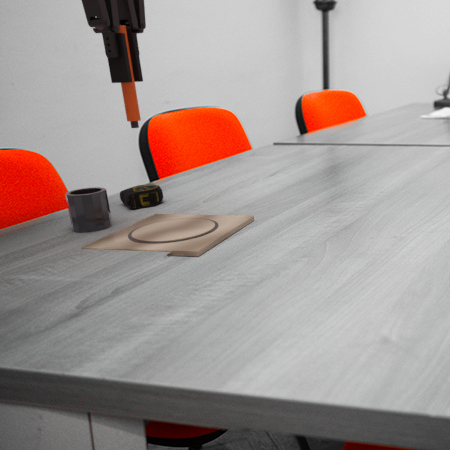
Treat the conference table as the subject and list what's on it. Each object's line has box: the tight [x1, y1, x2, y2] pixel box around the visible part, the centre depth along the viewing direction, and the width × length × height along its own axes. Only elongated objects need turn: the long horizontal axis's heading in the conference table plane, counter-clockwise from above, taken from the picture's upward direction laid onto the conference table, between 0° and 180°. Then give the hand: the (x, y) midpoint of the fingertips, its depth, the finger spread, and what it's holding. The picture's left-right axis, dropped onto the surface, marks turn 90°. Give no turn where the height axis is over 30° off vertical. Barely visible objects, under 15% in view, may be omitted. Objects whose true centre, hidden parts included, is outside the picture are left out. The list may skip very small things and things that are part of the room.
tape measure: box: [119, 183, 164, 210], centre depth 105 cm, size 7×7×4 cm
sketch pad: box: [81, 213, 255, 258], centre depth 88 cm, size 18×18×1 cm
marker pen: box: [117, 25, 142, 129], centre depth 81 cm, size 2×2×14 cm
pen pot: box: [64, 186, 113, 234], centre depth 91 cm, size 6×6×6 cm
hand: (127, 81), depth 81 cm, fingers closed on marker pen, 2 cm apart
